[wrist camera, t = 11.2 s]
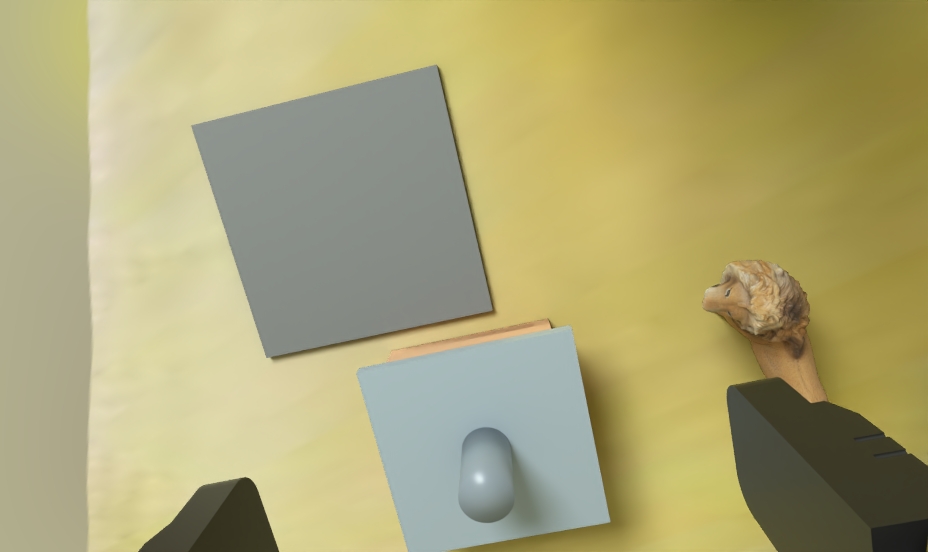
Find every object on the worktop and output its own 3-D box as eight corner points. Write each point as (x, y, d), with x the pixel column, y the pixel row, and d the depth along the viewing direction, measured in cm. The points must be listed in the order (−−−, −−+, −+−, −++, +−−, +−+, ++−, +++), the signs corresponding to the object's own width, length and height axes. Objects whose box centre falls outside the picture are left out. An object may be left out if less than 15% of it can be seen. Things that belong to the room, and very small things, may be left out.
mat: (195, 125, 38) (191, 125, 38) (437, 65, 37) (436, 64, 37) (269, 355, 42) (266, 357, 42) (492, 308, 41) (492, 310, 40)
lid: (359, 368, 37) (335, 411, 31) (570, 324, 35) (585, 361, 30) (411, 548, 40) (398, 618, 34) (607, 514, 38) (628, 580, 33)
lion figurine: (659, 264, 40) (708, 302, 31) (733, 221, 39) (805, 247, 30) (761, 436, 42) (832, 517, 33) (832, 399, 41) (924, 472, 33)
